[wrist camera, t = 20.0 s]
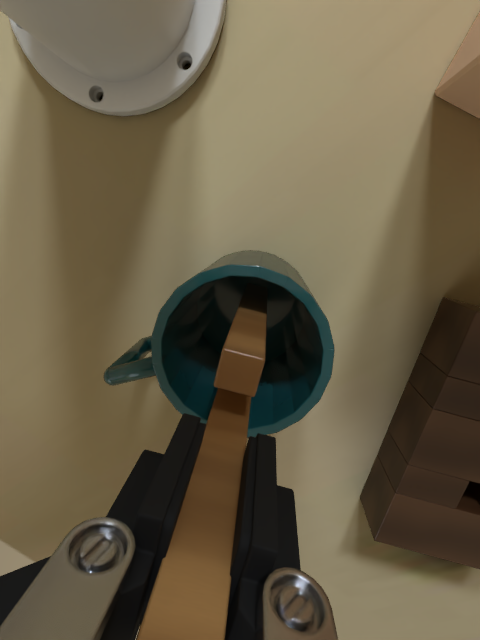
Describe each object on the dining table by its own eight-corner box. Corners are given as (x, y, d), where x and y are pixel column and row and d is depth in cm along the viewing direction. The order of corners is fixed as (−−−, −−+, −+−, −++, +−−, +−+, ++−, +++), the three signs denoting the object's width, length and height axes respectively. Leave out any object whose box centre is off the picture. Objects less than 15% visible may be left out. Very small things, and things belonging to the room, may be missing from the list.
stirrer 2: (247, 282, 24) (222, 347, 11) (267, 288, 24) (265, 359, 11) (242, 302, 24) (212, 387, 12) (262, 308, 24) (254, 398, 12)
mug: (294, 235, 23) (309, 241, 15) (322, 351, 25) (350, 418, 16) (129, 282, 25) (55, 312, 16) (167, 387, 27) (118, 465, 18)
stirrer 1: (228, 356, 18) (131, 654, 5) (255, 363, 18) (221, 681, 5) (221, 381, 18) (115, 716, 6) (248, 388, 18) (201, 739, 6)
